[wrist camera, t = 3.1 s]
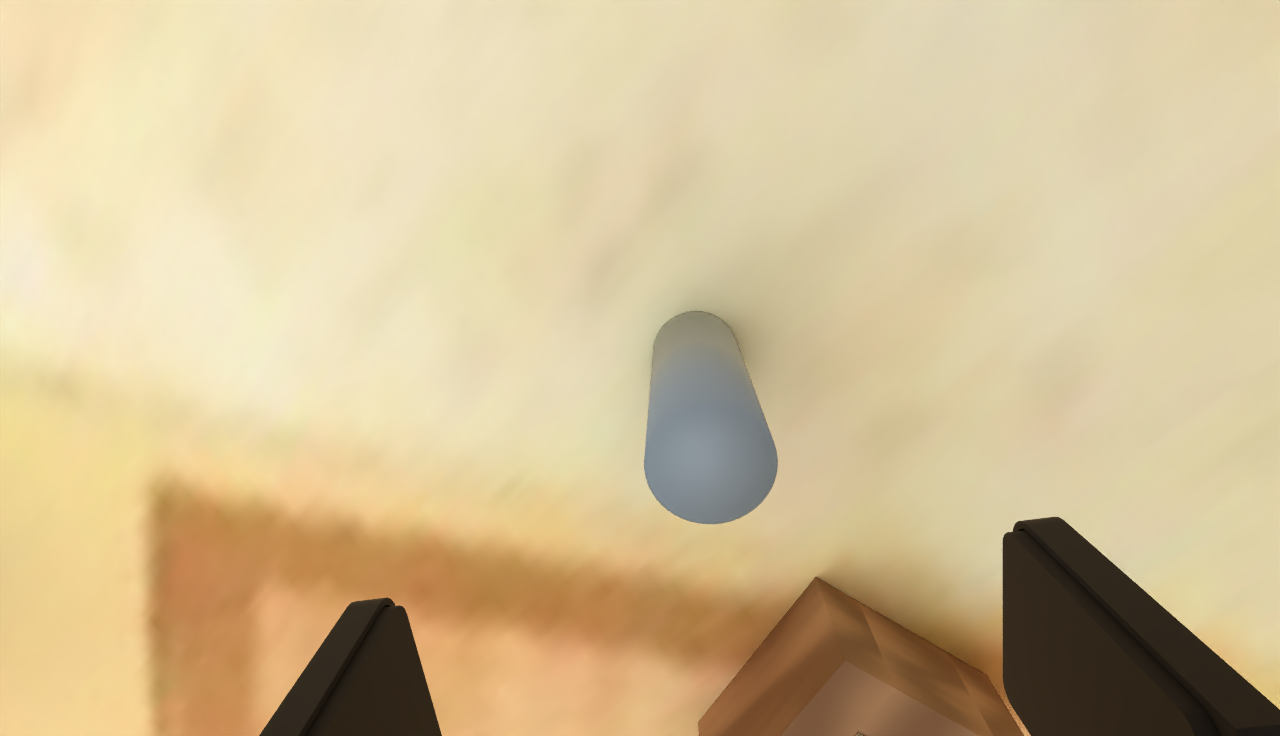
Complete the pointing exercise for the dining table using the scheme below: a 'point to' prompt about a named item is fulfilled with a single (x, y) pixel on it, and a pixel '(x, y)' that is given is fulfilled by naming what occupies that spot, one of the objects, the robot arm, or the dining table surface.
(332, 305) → the dining table surface
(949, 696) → the box with hole
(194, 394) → the dining table surface
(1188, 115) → the dining table surface
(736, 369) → the peg
